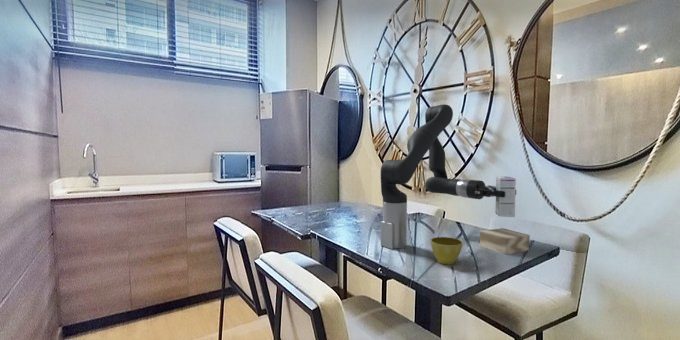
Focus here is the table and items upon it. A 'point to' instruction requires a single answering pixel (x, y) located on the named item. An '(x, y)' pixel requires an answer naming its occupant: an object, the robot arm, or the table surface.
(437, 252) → the flower pot
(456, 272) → the table surface
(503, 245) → the birch block
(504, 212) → the syrup box
